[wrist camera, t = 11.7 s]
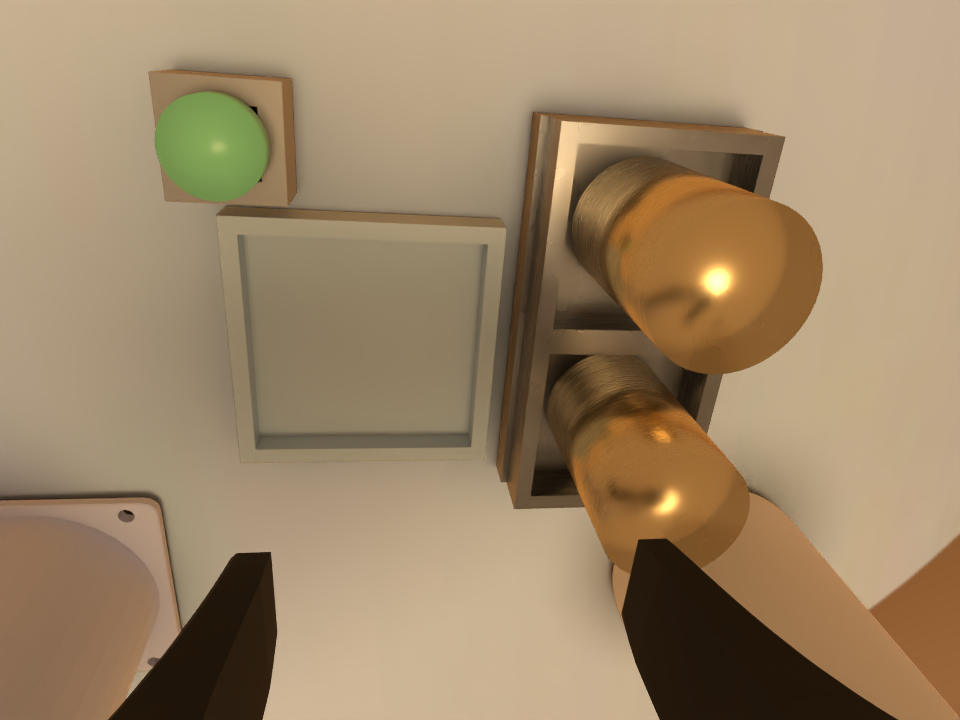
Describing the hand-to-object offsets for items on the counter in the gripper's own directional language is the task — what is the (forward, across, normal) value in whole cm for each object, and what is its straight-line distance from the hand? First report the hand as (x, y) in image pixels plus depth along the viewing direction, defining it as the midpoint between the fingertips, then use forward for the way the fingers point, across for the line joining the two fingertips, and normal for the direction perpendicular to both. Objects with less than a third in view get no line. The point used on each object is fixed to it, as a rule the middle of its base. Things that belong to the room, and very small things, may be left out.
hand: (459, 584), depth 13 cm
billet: (+9, -6, -5) cm, 12 cm away
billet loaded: (+9, -6, +1) cm, 11 cm away
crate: (+10, -6, -2) cm, 12 cm away
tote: (+10, +2, -1) cm, 10 cm away
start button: (+10, +6, -7) cm, 13 cm away
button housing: (+10, +6, -7) cm, 13 cm away
